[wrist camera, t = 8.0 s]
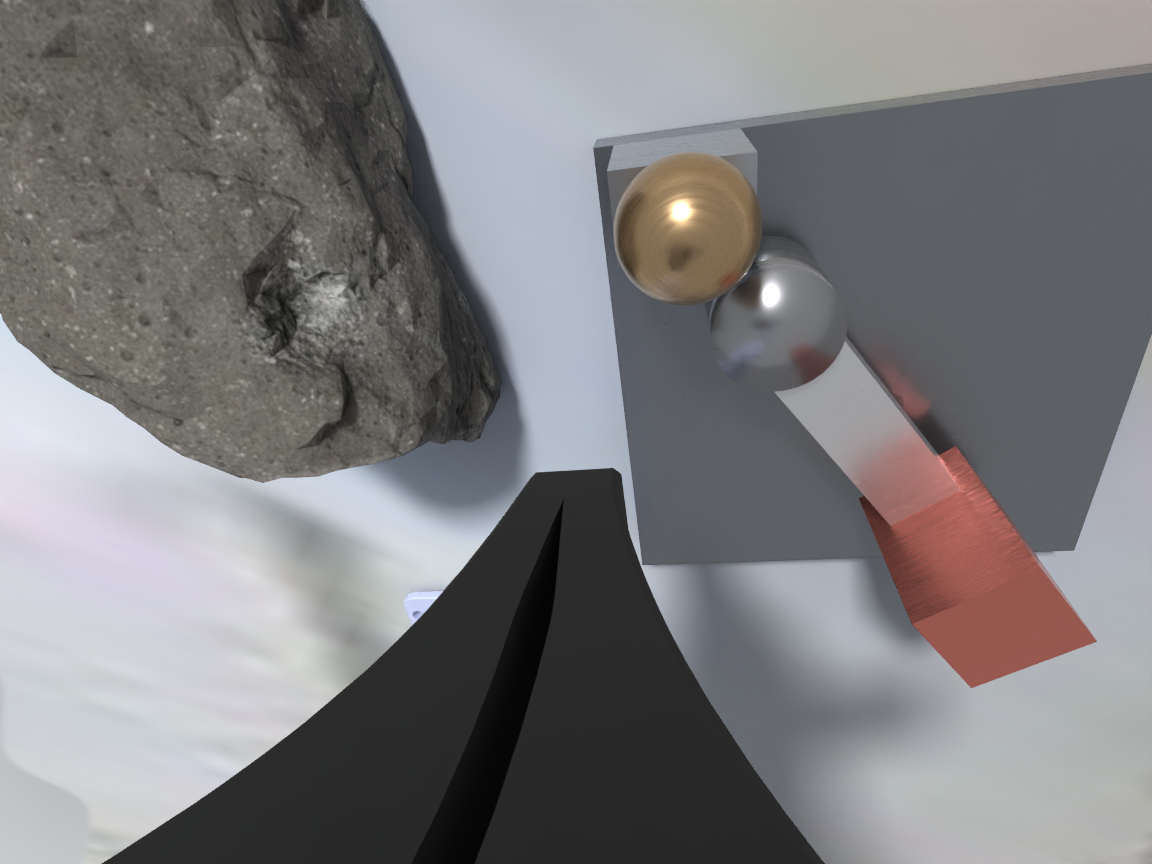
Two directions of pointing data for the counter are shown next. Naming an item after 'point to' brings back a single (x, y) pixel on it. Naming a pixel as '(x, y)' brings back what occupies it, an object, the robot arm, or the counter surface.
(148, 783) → the counter surface
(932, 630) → the lever
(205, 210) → the stone
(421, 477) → the counter surface
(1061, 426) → the base
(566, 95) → the counter surface
